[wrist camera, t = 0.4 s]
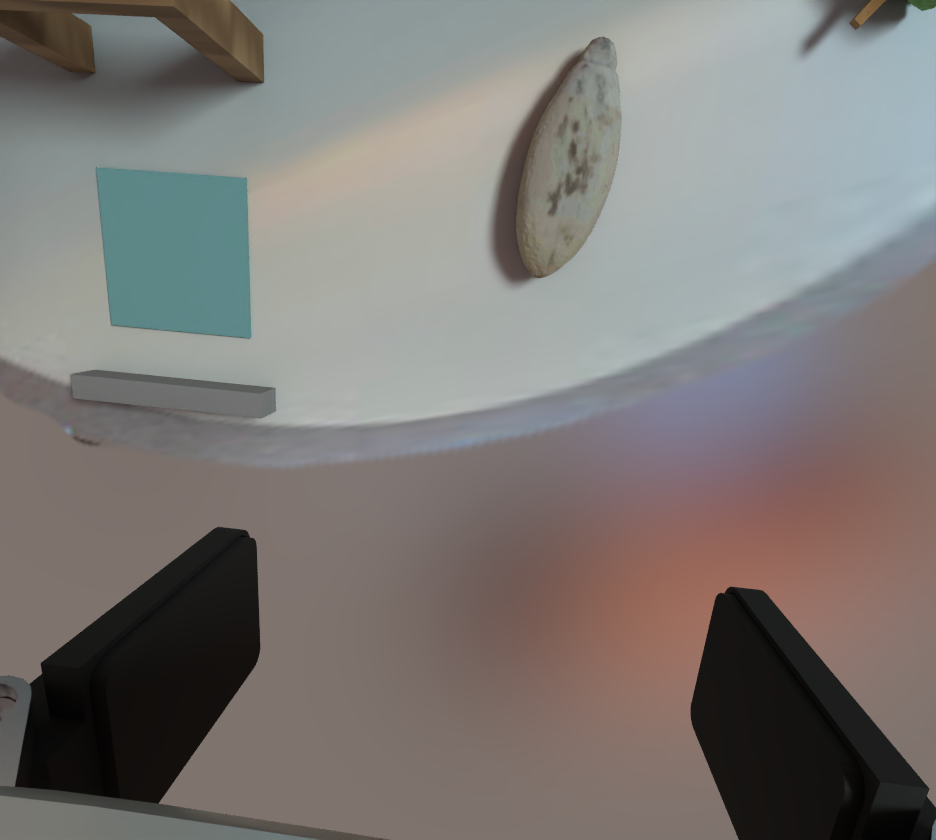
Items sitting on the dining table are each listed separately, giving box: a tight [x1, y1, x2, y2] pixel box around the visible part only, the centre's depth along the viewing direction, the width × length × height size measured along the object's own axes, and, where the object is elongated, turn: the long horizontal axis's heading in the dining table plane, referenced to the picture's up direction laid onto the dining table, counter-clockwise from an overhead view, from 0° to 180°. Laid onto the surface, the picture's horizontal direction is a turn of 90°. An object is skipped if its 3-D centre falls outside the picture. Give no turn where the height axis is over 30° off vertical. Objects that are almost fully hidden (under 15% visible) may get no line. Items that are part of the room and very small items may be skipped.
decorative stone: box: [516, 37, 621, 278], centre depth 34 cm, size 6×16×3 cm, turn 168°
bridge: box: [0, 0, 264, 82], centre depth 31 cm, size 3×15×10 cm, turn 85°
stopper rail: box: [70, 370, 276, 418], centre depth 41 cm, size 2×16×2 cm, turn 85°
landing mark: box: [96, 168, 251, 338], centre depth 39 cm, size 12×12×1 cm
